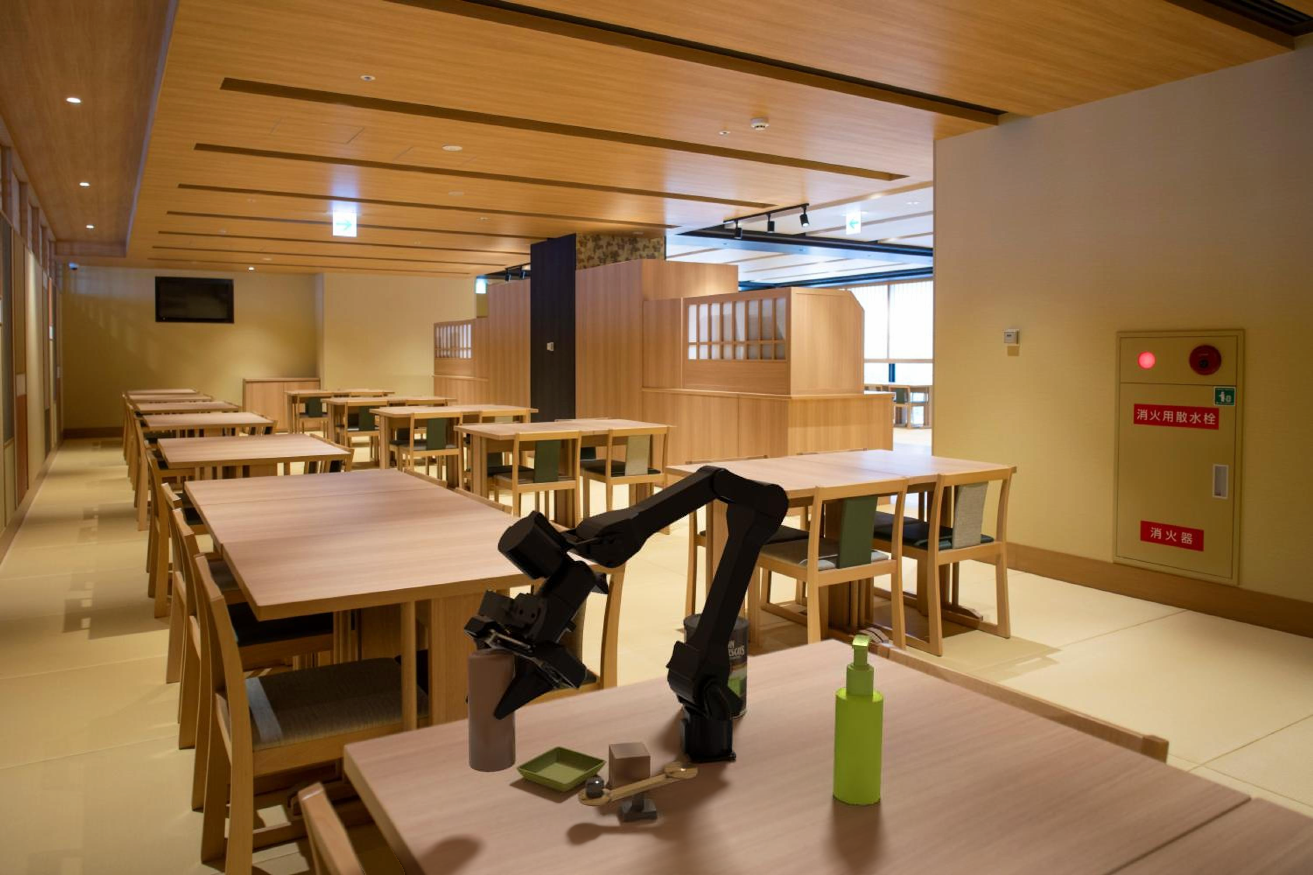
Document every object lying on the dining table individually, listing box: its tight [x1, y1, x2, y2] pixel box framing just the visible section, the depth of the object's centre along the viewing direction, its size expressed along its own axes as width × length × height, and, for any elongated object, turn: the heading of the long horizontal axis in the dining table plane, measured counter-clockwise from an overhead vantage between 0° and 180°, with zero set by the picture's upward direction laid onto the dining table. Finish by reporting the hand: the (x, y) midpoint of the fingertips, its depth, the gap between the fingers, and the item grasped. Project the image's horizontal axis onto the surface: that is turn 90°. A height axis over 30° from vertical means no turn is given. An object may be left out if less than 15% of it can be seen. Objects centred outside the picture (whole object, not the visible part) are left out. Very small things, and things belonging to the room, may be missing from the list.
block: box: [607, 741, 651, 795], centre depth 122 cm, size 4×4×5 cm
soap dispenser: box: [832, 634, 884, 806], centre depth 120 cm, size 6×7×20 cm
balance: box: [577, 760, 698, 823], centre depth 115 cm, size 15×4×5 cm, turn 104°
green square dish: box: [515, 745, 607, 793], centre depth 125 cm, size 9×9×2 cm
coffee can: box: [681, 612, 750, 719], centre depth 149 cm, size 10×10×14 cm
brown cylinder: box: [466, 648, 517, 773], centre depth 113 cm, size 6×6×13 cm
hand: (482, 710), depth 112 cm, fingers closed on brown cylinder, 5 cm apart
